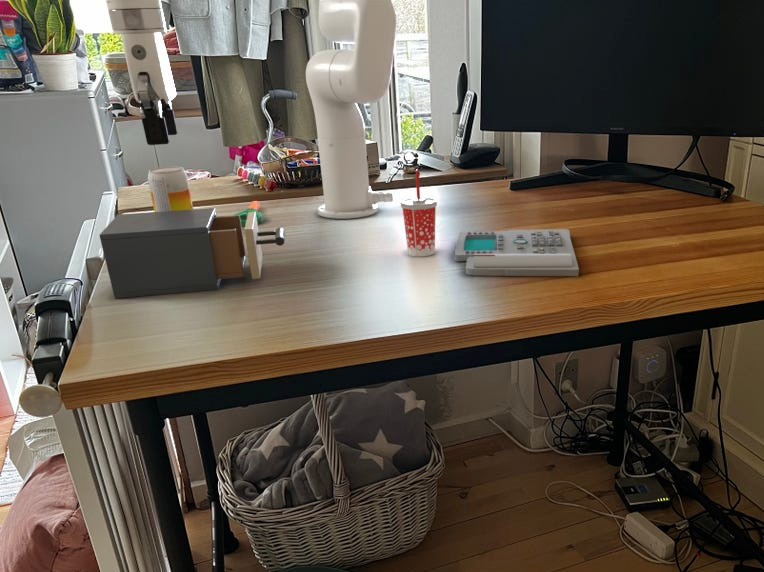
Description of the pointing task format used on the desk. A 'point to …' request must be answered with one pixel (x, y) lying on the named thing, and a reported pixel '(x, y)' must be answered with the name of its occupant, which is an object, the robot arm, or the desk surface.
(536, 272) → the office telephone
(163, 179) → the beer can
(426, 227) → the beverage cup
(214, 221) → the drawer
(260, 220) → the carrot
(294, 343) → the desk surface
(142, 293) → the cabinet
